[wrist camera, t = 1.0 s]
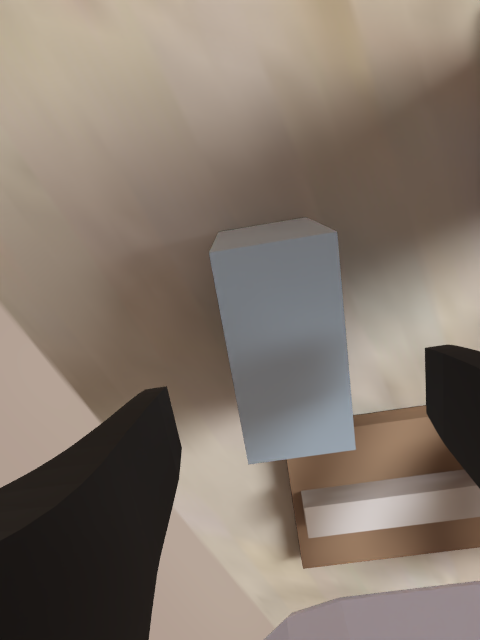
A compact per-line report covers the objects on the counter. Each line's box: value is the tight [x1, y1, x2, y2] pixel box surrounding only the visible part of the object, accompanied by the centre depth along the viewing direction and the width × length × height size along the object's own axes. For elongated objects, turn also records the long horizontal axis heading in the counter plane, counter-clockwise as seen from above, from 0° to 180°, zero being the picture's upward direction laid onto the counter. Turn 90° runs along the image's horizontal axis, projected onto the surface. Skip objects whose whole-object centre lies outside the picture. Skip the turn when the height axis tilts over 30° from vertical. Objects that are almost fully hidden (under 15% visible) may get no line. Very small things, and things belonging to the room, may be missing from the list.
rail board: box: [286, 405, 480, 569], centre depth 19 cm, size 17×9×7 cm, turn 99°
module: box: [209, 217, 356, 464], centre depth 17 cm, size 4×9×6 cm, turn 9°
